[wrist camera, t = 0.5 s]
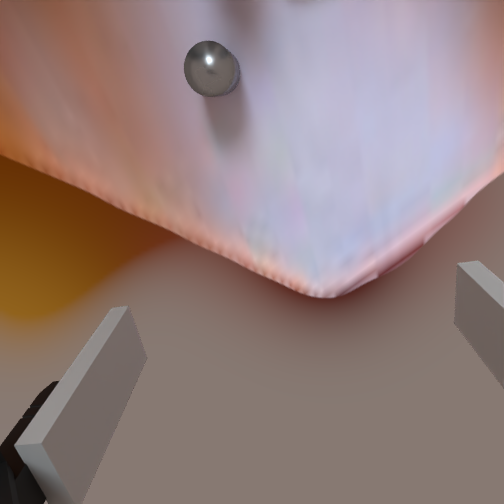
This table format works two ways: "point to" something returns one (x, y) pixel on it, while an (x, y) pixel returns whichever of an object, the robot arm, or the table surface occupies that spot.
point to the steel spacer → (211, 69)
